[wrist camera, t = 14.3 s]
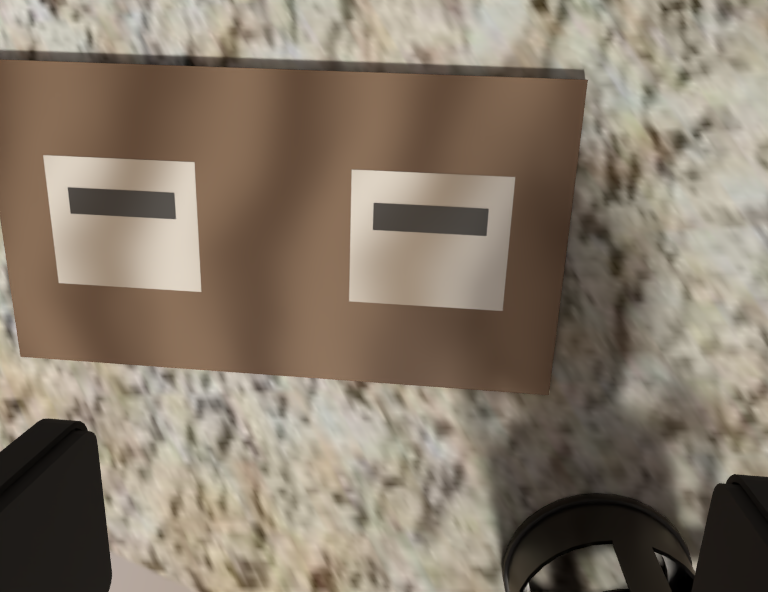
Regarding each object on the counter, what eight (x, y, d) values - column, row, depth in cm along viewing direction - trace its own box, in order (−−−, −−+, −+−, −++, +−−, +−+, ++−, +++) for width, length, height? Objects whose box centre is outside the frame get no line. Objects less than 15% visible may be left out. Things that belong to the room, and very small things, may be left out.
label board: (585, 79, 26) (587, 79, 26) (547, 391, 31) (548, 395, 30) (-17, 59, 28) (-24, 58, 28) (25, 353, 33) (20, 357, 32)
